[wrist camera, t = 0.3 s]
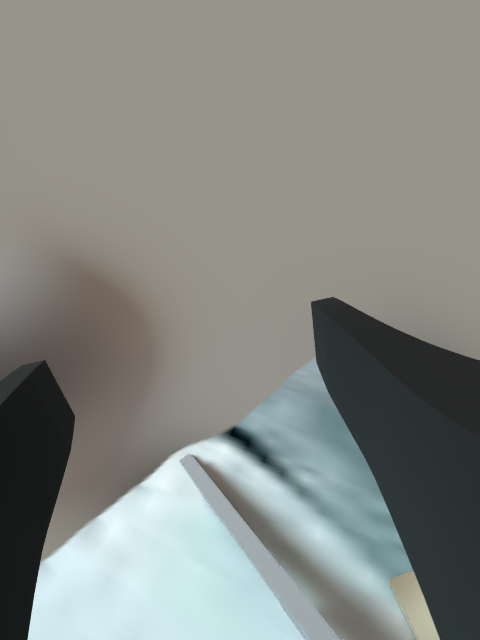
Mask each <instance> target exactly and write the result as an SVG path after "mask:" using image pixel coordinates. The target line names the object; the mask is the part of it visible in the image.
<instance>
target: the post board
mask: <svg viewBox="0 0 480 640" xmlns="http://www.w3.org/2000/svg"><path fill="white" fill-rule="evenodd" d="M390 587H391V589H392V591H393V594H394V596H395V598H396V600H397V602H398V604H399V606H400V608H401V610H402V612H403V614H404V616H405V618H406V620H407V622H408V625H409V627H410V629H411V631H412V633H413V635H414V637H415V639H416V640H440V638H439V636H438V633H437V630H436V628H435V625H434V622H433V620H432V617H431V614H430V612H429V609H428V606H427V604H426V601H425V599H424V596H423V593H422V591H421V588H420V586H419V583H418V581H417V578H416V576H415V573H414V571H410V572H407V573H404V574H402V575H399V576H396V577H393V578H391V579H390Z"/></svg>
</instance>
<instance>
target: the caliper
mask: <svg viewBox="0 0 480 640" xmlns="http://www.w3.org/2000/svg"><path fill="white" fill-rule="evenodd" d="M180 463H181V465H182V466H183V467H184V469H185V470H186V471H187V473H188V475H189V476H190V478H191V479H192V481H193V482H194V483H195V485H196V486H197V488H198V489H199V490H200V492H201V493H202V495H203V496H204V497H205V499H206V500H207V502H208V503H209V504H210V506H211V507H212V509H213V510H214V511H215V513H216V514H217V515H218V517H219V518H220V520H221V521H222V522H223V524H224V525H225V527H226V528H227V529H228V531H229V532H230V534H231V535H232V536H233V538H234V539H235V540H236V542H237V543H238V545H239V546H240V547H241V549H242V550H243V552H244V553H245V554H246V556H247V557H248V559H249V560H250V561H251V563H252V564H253V566H254V567H255V568H256V570H257V571H258V572H259V574H260V575H261V577H262V578H263V579H264V581H265V582H266V584H267V585H268V586H269V588H270V589H271V591H272V592H273V593H274V595H275V596H276V598H277V599H278V601H279V602H280V604H281V606H282V608H283V609H284V611H285V612H286V614H287V615H288V616H289V618H290V619H291V620H292V622H293V623H294V624H295V626H296V627H297V629H298V630H299V632H300V633H301V635H302V636H303V637H304V638H305V640H340V638H339V637H338V636H337V635H336V633H335V632H334V631H333V630H332V628H331V627H330V626H329V625H328V623H327V622H326V621H325V620H324V618H323V617H322V616H321V615H320V613H319V612H318V611H317V610H316V608H315V607H314V606H313V605H312V603H311V602H310V601H309V600H308V598H307V597H306V596H305V595H304V593H303V592H302V591H301V590H300V588H299V587H298V586H297V585H296V583H295V582H294V581H293V580H292V578H291V577H290V576H289V575H288V573H287V572H286V571H285V570H284V568H283V567H282V568H281V567H280V565H279V564H278V563H277V562H276V560H275V559H274V558H273V556H272V555H271V554H270V553H269V551H268V550H267V549H266V548H265V546H264V545H263V544H262V543H261V541H260V540H259V539H258V538H257V536H256V535H255V534H254V533H253V531H252V530H251V529H250V528H249V526H248V525H247V524H246V522H245V521H244V520H243V519H242V517H241V516H240V515H239V514H238V512H237V511H236V510H235V509H234V507H233V506H232V505H231V504H230V502H229V501H228V500H227V499H226V497H225V496H224V495H223V494H222V492H221V491H220V490H219V488H218V487H217V486H216V485H215V483H214V482H213V481H212V480H211V478H210V477H209V476H208V475H207V473H206V472H205V471H204V470H203V468H202V467H201V466H200V465H199V463H198V462H197V461H196V460H195V458H194V457H193V456H191V455H190V454H188V455H187V456H185V457H184V458H183V459H181V460H180ZM342 640H345V639H344V638H343V639H342Z"/></svg>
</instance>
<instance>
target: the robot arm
mask: <svg viewBox="0 0 480 640" xmlns="http://www.w3.org/2000/svg"><path fill="white" fill-rule="evenodd" d="M311 308H312V318H313V328H314V340H315V351H316V361H317V365H318V367H319V370H320V372H321V375H322V378H323V380H324V383H325V385H326V388H327V390H328V392H329V394H330V396H331V398H332V400H333V402H334V403H335V405H336V407H337V409H338V411H339V413H340V414H341V416H342V418H343V420H344V421H345V423H346V425H347V427H348V429H349V430H350V432H351V434H352V436H353V438H354V439H355V441H356V443H357V445H358V446H359V448H360V450H361V452H362V454H363V455H364V457H365V459H366V461H367V463H368V465H369V467H370V469H371V471H372V473H373V475H374V477H375V479H376V482H377V484H378V486H379V489H380V491H381V493H382V496H383V498H384V500H385V503H386V505H387V507H388V509H389V512H390V514H391V517H392V519H393V521H394V524H395V526H396V529H397V531H398V534H399V536H400V538H401V541H402V543H403V546H404V548H405V550H406V553H407V556H408V558H409V561H410V563H411V566H412V568H413V571H414V573H415V576H416V578H417V581H418V583H419V586H420V588H421V591H422V593H423V596H424V599H425V601H426V604H427V606H428V609H429V612H430V614H431V617H432V620H433V622H434V625H435V628H436V630H437V633H438V636H439V638H440V640H480V361H479V360H476V359H472V358H469V357H466V356H463V355H460V354H457V353H454V352H451V351H449V350H445V349H442V348H440V347H437V346H434V345H432V344H429V343H427V342H424V341H422V340H420V339H417V338H415V337H413V336H410V335H408V334H406V333H403V332H401V331H399V330H397V329H395V328H393V327H391V326H388V325H386V324H384V323H382V322H380V321H378V320H376V319H374V318H373V317H370V316H368V315H367V314H365V313H363V312H361V311H359V310H357V309H355V308H354V307H352V306H350V305H348V304H346V303H344V302H343V301H340V300H339V299H337V298H334V297H331V298H326V299H322V300H317V301H313V302H311ZM74 422H75V415H74V413H73V411H72V410H71V408H70V406H69V404H68V402H67V400H66V398H65V397H64V395H63V393H62V391H61V390H60V387H59V385H58V384H57V382H56V380H55V378H54V376H53V374H52V372H51V370H50V369H49V367H48V365H47V363H46V361H45V360H44V361H40V362H36V363H30V364H26V365H22V366H21V367H19V368H18V369H16V370H15V371H13V372H12V373H11V374H9V375H8V376H7V377H6V378H4V379H3V380H2V381H1V382H0V640H27V639H28V632H29V625H30V619H31V612H32V606H33V599H34V593H35V587H36V582H37V577H38V571H39V566H40V560H41V555H42V550H43V545H44V542H45V538H46V534H47V530H48V527H49V523H50V520H51V517H52V513H53V510H54V507H55V503H56V500H57V496H58V493H59V490H60V486H61V483H62V479H63V476H64V472H65V469H66V465H67V462H68V458H69V454H70V451H71V444H72V438H73V429H74Z"/></svg>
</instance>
